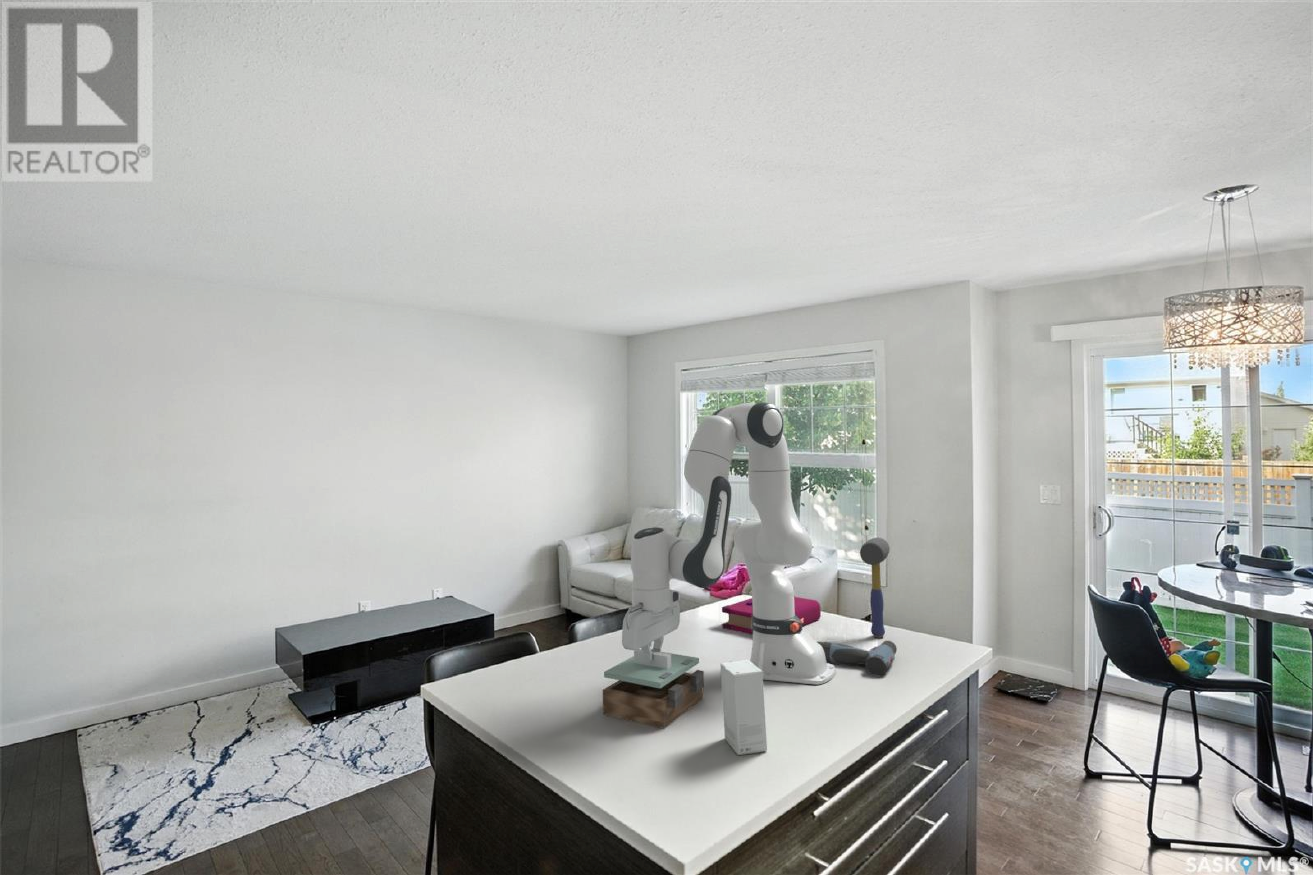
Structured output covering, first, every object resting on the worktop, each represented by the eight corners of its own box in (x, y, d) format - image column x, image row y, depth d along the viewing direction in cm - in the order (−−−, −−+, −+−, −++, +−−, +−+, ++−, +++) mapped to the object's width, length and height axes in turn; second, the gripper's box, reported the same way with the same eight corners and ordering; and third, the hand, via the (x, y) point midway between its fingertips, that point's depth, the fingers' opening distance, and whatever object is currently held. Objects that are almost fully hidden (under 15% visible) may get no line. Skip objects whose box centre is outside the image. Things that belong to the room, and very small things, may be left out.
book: (821, 621, 215) (820, 598, 215) (774, 641, 195) (773, 616, 196) (769, 611, 230) (768, 590, 230) (720, 629, 210) (719, 605, 210)
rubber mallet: (887, 644, 187) (883, 542, 188) (861, 641, 191) (857, 541, 192) (894, 632, 198) (890, 536, 199) (869, 630, 202) (866, 535, 203)
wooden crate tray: (708, 699, 150) (707, 668, 150) (670, 730, 135) (669, 694, 135) (645, 687, 159) (644, 657, 159) (603, 714, 144) (602, 680, 144)
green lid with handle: (699, 663, 151) (698, 646, 151) (660, 688, 136) (659, 669, 136) (646, 654, 159) (646, 638, 159) (604, 677, 144) (603, 659, 144)
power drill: (829, 647, 188) (901, 657, 177) (810, 666, 172) (887, 678, 161) (829, 628, 188) (900, 637, 177) (809, 646, 172) (886, 657, 161)
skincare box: (767, 752, 124) (765, 671, 124) (735, 756, 122) (732, 675, 123) (752, 733, 132) (749, 658, 132) (721, 737, 130) (719, 661, 131)
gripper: (638, 610, 137) (639, 675, 137) (683, 591, 155) (685, 648, 155) (614, 607, 141) (615, 670, 140) (661, 588, 158) (663, 644, 158)
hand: (652, 658), depth 148 cm, fingers closed on green lid with handle, 2 cm apart
